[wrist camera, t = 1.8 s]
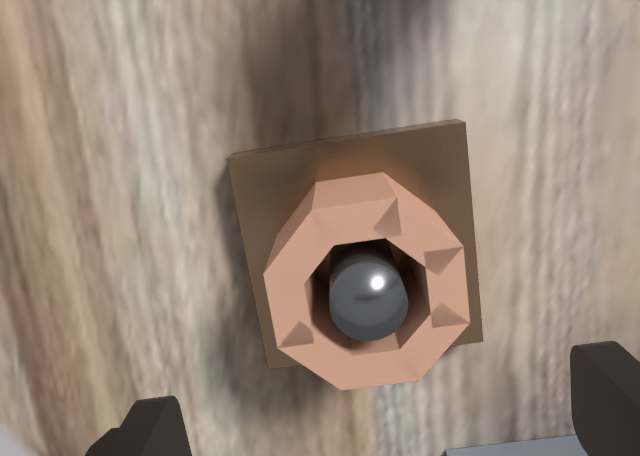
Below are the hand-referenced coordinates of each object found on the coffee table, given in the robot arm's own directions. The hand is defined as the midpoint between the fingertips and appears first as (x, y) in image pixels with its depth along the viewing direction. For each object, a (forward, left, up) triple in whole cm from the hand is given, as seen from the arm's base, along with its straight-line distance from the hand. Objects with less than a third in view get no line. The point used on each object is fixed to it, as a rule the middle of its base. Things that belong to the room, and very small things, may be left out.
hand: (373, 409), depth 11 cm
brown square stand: (0, 0, -12) cm, 12 cm away
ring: (0, 0, -11) cm, 11 cm away
